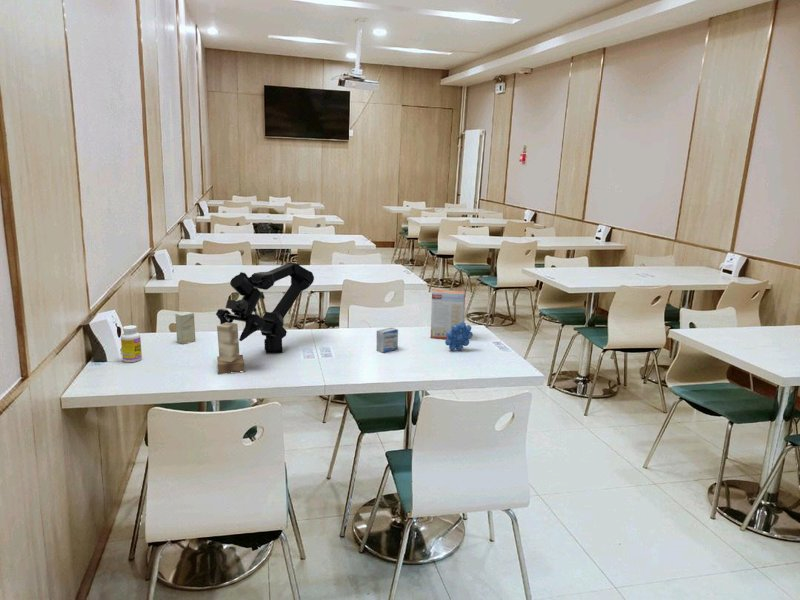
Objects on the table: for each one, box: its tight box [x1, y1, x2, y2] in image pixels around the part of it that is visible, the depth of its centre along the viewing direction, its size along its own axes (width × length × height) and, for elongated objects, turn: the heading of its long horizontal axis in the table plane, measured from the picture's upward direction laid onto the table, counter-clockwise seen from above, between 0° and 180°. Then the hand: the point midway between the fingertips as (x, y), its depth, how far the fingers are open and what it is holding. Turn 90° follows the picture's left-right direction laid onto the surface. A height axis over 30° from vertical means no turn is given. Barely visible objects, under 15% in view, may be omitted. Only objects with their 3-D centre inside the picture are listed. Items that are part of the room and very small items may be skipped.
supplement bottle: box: [120, 324, 143, 363], centre depth 219 cm, size 7×7×13 cm
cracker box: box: [430, 289, 466, 340], centre depth 255 cm, size 14×6×21 cm, turn 77°
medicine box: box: [375, 327, 399, 354], centre depth 238 cm, size 8×4×9 cm, turn 131°
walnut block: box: [217, 354, 245, 375], centre depth 213 cm, size 9×9×4 cm
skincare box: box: [174, 311, 196, 345], centre depth 242 cm, size 6×4×12 cm
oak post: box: [216, 322, 241, 362], centre depth 211 cm, size 5×5×13 cm
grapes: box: [444, 321, 474, 351], centre depth 240 cm, size 12×7×12 cm, turn 103°
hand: (230, 338), depth 211 cm, fingers open, 9 cm apart
